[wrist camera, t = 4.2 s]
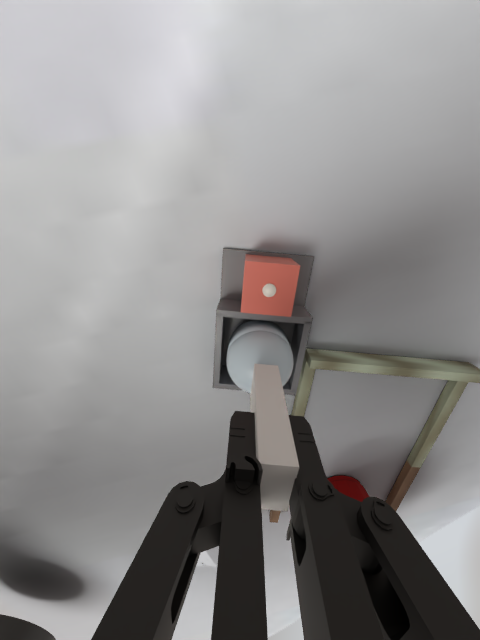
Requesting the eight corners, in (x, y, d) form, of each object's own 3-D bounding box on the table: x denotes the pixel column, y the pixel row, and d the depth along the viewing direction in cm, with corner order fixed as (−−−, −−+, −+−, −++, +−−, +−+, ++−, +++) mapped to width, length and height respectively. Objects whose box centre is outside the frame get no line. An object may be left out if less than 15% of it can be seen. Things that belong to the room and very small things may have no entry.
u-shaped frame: (269, 514, 31) (270, 533, 29) (305, 348, 21) (311, 360, 19) (381, 524, 31) (389, 543, 29) (468, 362, 21) (489, 375, 19)
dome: (227, 366, 21) (221, 407, 16) (230, 314, 19) (225, 344, 14) (282, 371, 21) (292, 413, 16) (292, 320, 19) (306, 351, 14)
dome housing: (217, 367, 22) (211, 395, 19) (223, 248, 18) (217, 254, 14) (289, 373, 22) (298, 402, 19) (312, 256, 18) (329, 264, 14)
